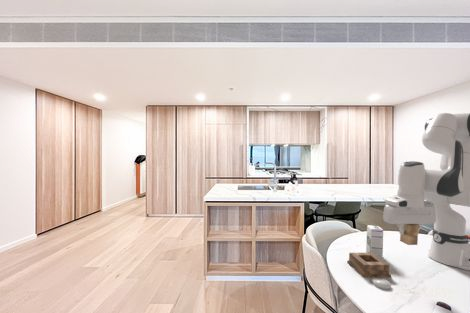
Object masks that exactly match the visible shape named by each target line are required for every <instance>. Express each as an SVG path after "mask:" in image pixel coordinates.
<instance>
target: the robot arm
mask: <svg viewBox="0 0 470 313" xmlns="http://www.w3.org/2000/svg"><path fill="white" fill-rule="evenodd" d="M421 142H422V145H423V146H424V148H426V149H427V150H428V151H431V152H432V153H435V154H439V155H441V158H440V166H439V167H440V170H438V169H437V170H434V169H425V164H424V163H423V162H421V161H414V160H413V161H404V162H402V163H401V164H400V166H399V170H398V175H397V185H398V189H397V194H396V195H393V196H390V197H387V198H385V199H384V202H385V206H384V207H383V216H382V217H383V218H382V219H383V221H384V222H385V223H387V224H389V225H396V226H397V228H398V229H399V234H402V235H406V230H404V229H403V227H404V224H416V225H418V235H419V232H420V230H421V229H422V227H423V225H433V228H432V233H431V234H432V238H431V242H430V247H429V249H428V254H427V255H428V257H429V258H430V259H432V260H433V261H435V262H438V263H441V264H443V265H447V266H450V267H455V268H459V269H462V270H465V271H470V242H469V240H470V234H466V231H467V230H466V229H467V228H466V226H467V221H466V218H465V216H464V215H462V214H461V213H460V212H458V211H455V210H454V209H453V208H452V207H451V205H456V206H462V207H467V208H469V207H470V112H469V113H455V114H454V113H449V112H448V113H447V112H441V113H439V114H437V115H434V116H433V117H432V118H429V119H428V120H426V122H425V123H424V132H423V135H422V138H421Z"/></svg>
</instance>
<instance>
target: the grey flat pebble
mask: <svg viewBox="0 0 470 313" xmlns="http://www.w3.org/2000/svg"><path fill="white" fill-rule="evenodd" d="M371 282H372V285H373V286H375V287H377V288H379V289H382V290H390V289H391V282H390V281H388V280H387V279H385V278H384V277H372V280H371Z"/></svg>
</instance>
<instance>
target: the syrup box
mask: <svg viewBox="0 0 470 313" xmlns="http://www.w3.org/2000/svg"><path fill="white" fill-rule="evenodd" d="M365 246H366V248H365V249H366V250H365V253H373V254H375V255H376V256H378V257H379V258H380V259H383V256H384V255H383V254H384V253H383V252H384V229H383V228H382V227H380V226H379V225H369V224H367V226H366V245H365Z"/></svg>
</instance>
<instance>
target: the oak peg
mask: <svg viewBox="0 0 470 313" xmlns="http://www.w3.org/2000/svg"><path fill="white" fill-rule="evenodd" d="M403 229H404V230H406V235H402V234H400V233H399V234H400V236H399V242H402V243H403V244H406V245H407V246H418V239H419V238H418V236H419V234H418V225H416V224H404V227H403Z"/></svg>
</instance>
